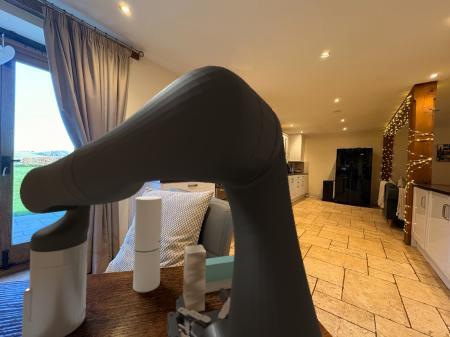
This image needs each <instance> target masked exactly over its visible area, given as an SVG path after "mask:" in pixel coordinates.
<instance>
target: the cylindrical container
mask: <svg viewBox="0 0 450 337" xmlns="http://www.w3.org/2000/svg"><path fill="white" fill-rule="evenodd" d="M134 206H135V208H134V210H135V211H134V239H133V240H134V243H133V248H134V249H133V272H132V273H133V279H132V280H133V282H132V288H133V290H134V291H135V292H137V293H147V292H148V293H149V292H151V291H153V290H156V289H157V288H158V287H159V286H160V283H161V255H162V254H161V250H162V249H161V248H162V213H163V212H162V211H163V209H162V208H163V197H162V196H160V195H159V196H158V195H144V196H136V197H135V205H134Z"/></svg>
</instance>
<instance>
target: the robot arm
mask: <svg viewBox="0 0 450 337" xmlns="http://www.w3.org/2000/svg"><path fill="white" fill-rule="evenodd" d="M279 119H280V118H279V117H278V114H276V112H275V111H274V110H273V108H272V107H271V106H270V105H269V103H267V101H265V99H263V98H262V96H260V95H259V94H258V92H256V90H254V88H252V87H251V86H250V85H249V84H248V82H246V81H245V79H244V78H242V76H239V75H238V74H237V73H235V72H234V71H232V70H230V69H228V68H226V67H224V66H220V65H219V66H217V65H206V66H202V67H199V68H194V69H193V70H190V71H188V72H187V73H184V74H183V75H181V76H180V77H178V78H177V79H175V80H173V81H172V82H171V83H169V84H168V85H166V87H164V88H163V89H161V90H160V91H159V92H158V93H156V95H154V96H153V97H152V98H150V100H148V101H147V102H146V103H145V104H144V105H142V106H141V107H140V108H139V109H138V110H136V111H135V112H134V113H132V115H130V116H129V117H128V118H126V119H125V120H124V121H123V122H121V123H120V124H118V125H116V126H115V127H113V128H112V129H110V130H109V131H107V132H106V133H104V134H102V135H101V136H99V137H97V138H96V139H93V140H91V141H89V142H86V143H84V144H83V145H81V146H79V147H78V148H77V149H74V150H73V151H72V152H70V153H69V154H66V155H65V156H63V157H61V158H58V159H57V160H56V161H53V162H51V163H49V164H44V165H40V166H37V167H33V168H32V169H30V170H29V171H28V172H27V173H26V174H25V175H24V177H23V178H22V180H21V183H20V188H19V198H20V201H21V203H22V205H23V207H24V208H25V209H26V210H28V212H31V213H33V214H38V215H39V214H50V213H58V212H65V213H64V215H63V216H61V217H60V218H59V219H58V220H56V221H54V222H53V223H50V224H49V225H47V226H44V227H43V228H40V229H38V230H36V231H34V233H32V235H31V236H30V242H29V243H30V247H29V249H30V250H29V251H30V252H29V253H30V255H29V256H30V257H29V283H28V284H29V286H28V287H27V288H26V289H25V290H24V291H23V293H22V319H21V320H22V321H21V323H22V324H21V325H22V326H21V337H66V336H67V335H70V334H71V333H72V332H74V331H76V329H78V328H79V327H80V326H81V325H82V324H83V322H84V321H85V319H86V310H87V304H86V298H87V270H88V269H87V268H88V267H87V266H88V241H89V240H88V237H89V236H88V233H89V229H90V224H91V222H90V221H91V210H92V209H91V208H92V206H97V205H106V204H112V203H117V202H121V201H124V200H127V199H130V198H131V197H133V196H135V195H136V194H137V193H139V191H141V189H142V188H143V187H144V185H145V184H146V183H150V182H159V181H187V182H195V183H205V184H215V185H217V184H218V185H222V187H223V190H224V193H225V196H226V198H227V202H228V206H229V209H230V214H231V220H232V229H233V246H234V247H233V248H234V249H233V250H234V253H233V255H234V265H233V276H232V286H231V288H230V292H229V291H228V289H224V288H220V290H219V299H220V301H221V303H222V305H223V306H222V308H221V310H219V309H214V310H212V311H209V312H208V311H205V312H201V313H199V312H196V311H194V310H191V311H189V310H187V309H185V303H184V298H183V294H182V295H179V296H178V298H177V299H176V300H175V311H176V312H174V311H169V312H168V313H167V316H166V317H167V326H166V327H167V328H166V331H167V336H168V337H323V334H322V331H321V327H320V324H319V320H318V316H317V313H316V312H317V311H316V308H315V304H314V301H313V297H312V293H311V289H310V285H309V280H308V276H307V272H306V268H305V264H304V259H303V255H302V251H301V250H302V249H301V246H300V241H299V236H298V231H297V226H296V221H295V216H294V210H293V208H294V207H293V205H292V204H293V203H292V198H291V197H292V196H291V191H290V190H291V189H290V183H289V182H290V181H289V173H288V167H287V166H288V164H287V158H286V150H285V149H286V148H285V142H284V135H283V134H284V133H283V129H282V124H281V122H280V121H281V120H279ZM179 327H180V328H179ZM182 329H184V330H185V333H186V334H185V333H184V332H183V331H182Z"/></svg>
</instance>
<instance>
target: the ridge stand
mask: <svg viewBox="0 0 450 337" xmlns="http://www.w3.org/2000/svg"><path fill="white" fill-rule="evenodd" d="M233 265H234V254H232V255H231V254H230V255H227V256H226V255H224V256H216V257H211V258H210V257H209V258H206V275H205V294H207V293H213V292H218V291H219V292H220V288H224V289H225V290H228V289H231V286H232V276H233Z"/></svg>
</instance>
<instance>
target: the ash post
mask: <svg viewBox="0 0 450 337" xmlns="http://www.w3.org/2000/svg"><path fill="white" fill-rule="evenodd" d="M206 259H207V251H206V249H205V248H204V246H203V244H197V245H196V244H195V245H194V244H193V245H186V246H184V248H183V276H182V277H183V280H182V282H183V284H182V295H183V298H184V303H185V309H187V310H189V311H191V310H194V311H196V312H198V313H199V312H203V311H205V310H206V309H205V308H206V306H205V305H206V302H205V301H206V293H205V275H206Z"/></svg>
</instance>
